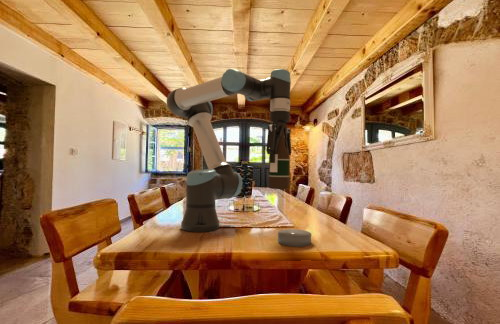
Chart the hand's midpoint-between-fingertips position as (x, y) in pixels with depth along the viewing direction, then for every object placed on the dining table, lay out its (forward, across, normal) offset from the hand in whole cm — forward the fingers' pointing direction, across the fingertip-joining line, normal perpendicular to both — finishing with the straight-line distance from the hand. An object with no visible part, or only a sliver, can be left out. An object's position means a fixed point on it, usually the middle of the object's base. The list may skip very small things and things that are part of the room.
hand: (279, 171), depth 103 cm
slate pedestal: (+23, -7, -10) cm, 26 cm away
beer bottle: (+6, 0, 0) cm, 6 cm away
